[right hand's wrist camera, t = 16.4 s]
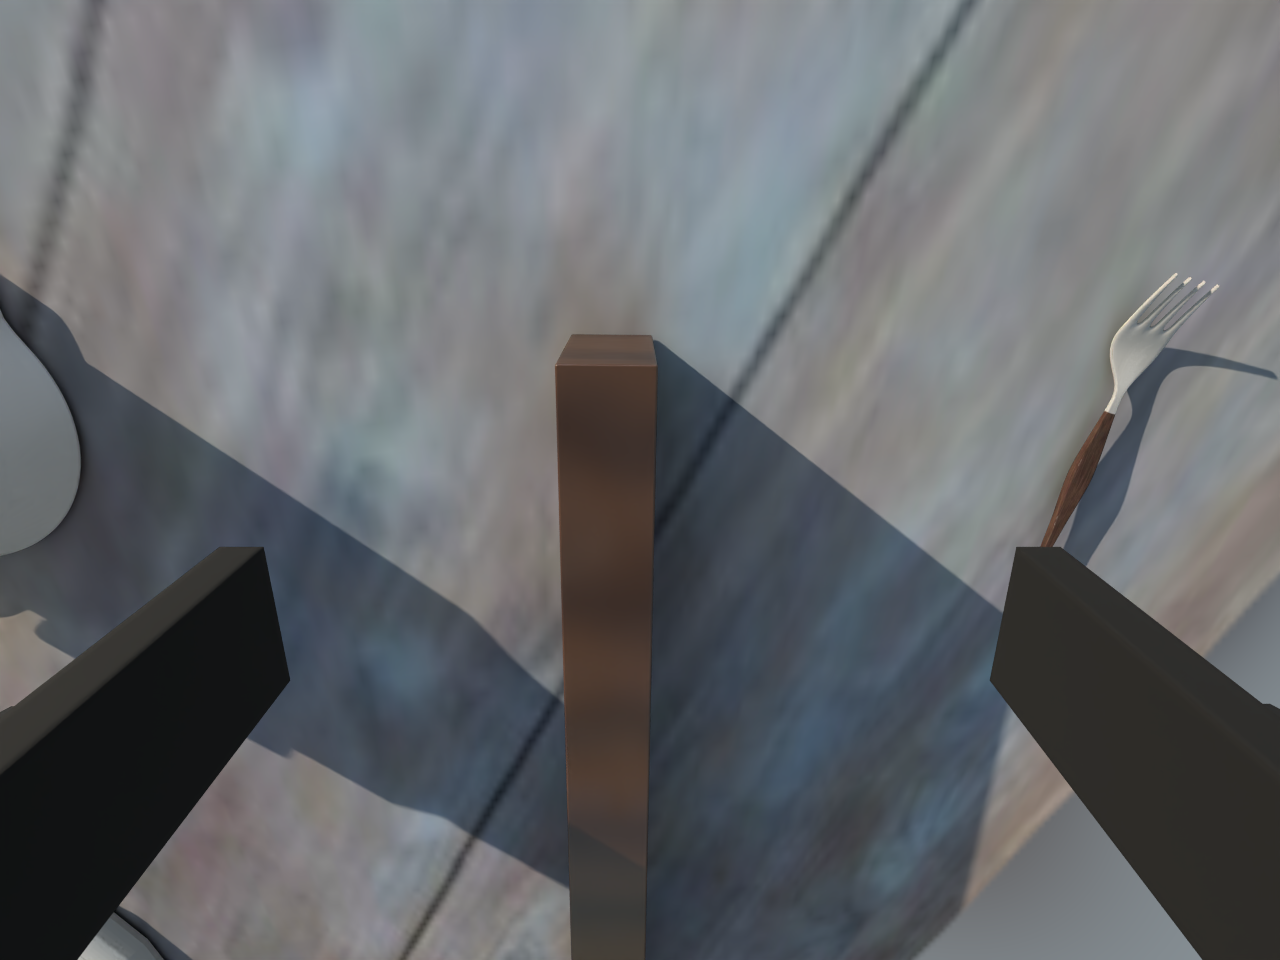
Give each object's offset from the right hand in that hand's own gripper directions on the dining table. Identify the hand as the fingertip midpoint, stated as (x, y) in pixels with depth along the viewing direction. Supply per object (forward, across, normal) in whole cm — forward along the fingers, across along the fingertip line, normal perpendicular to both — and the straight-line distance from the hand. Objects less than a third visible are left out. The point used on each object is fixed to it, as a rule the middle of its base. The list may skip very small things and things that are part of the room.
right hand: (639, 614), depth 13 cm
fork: (+25, -24, +4) cm, 34 cm away
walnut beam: (+24, +2, +22) cm, 33 cm away
